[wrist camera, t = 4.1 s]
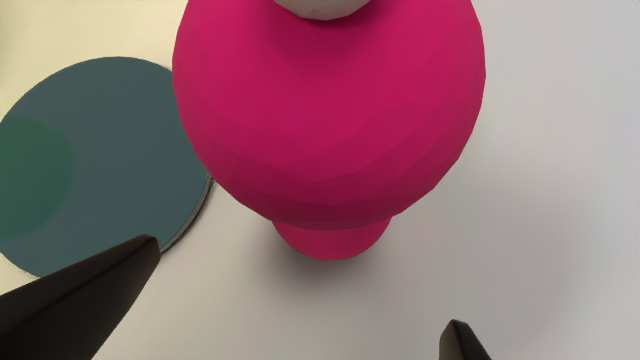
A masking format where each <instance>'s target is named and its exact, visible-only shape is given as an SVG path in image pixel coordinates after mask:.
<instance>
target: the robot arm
mask: <svg viewBox="0 0 640 360" xmlns="http://www.w3.org/2000/svg"><path fill="white" fill-rule="evenodd" d="M160 257H161V254H160V248H159V242H158V239H157V238H156V237H155V236H151V235H148V234H142V235H139V236H137V237H135V238H132V239H130V240H128V241H125V242H123V243H121V244H118V245H116V246H114V247H111V248H109V249H107V250H104V251H102V252H100V253H98V254H95V255H93V256H91V257H88V258H86V259H84V260H81V261H79V262H77V263H74V264H72V265H70V266H67V267H65V268H63V269H61V270H58V271H56V272H54V273H51V274H49V275H47V276H44V277H42V278H40V279H37V280H35V281H33V282H30V283H28V284H26V285H23V286H21V287H19V288H17V289H14V290H12V291H10V292H7V293H5V294H3V295H0V360H91V359H92V358H93V357H94V355H95V354H96V353H97V351H98V350H99V349H100V348H101V346H102V345H103V344H104V342H105V341H106V340H107V338H108V337H109V336H110V334H111V333H112V332H113V330H114V329H115V328H116V327H117V325H118V324H119V323H120V321H121V320H122V319H123V317H124V316H125V315H126V313H127V312H128V311H129V309H130V308H131V306H132V305H133V303H134V302H135V300H136V299H137V297H138V296H139V294H140V292H141V291H142V289H143V288H144V286H145V284H146V283H147V281H148V279H149V278H150V276H151V275H152V273H153V271H154V270H155V268H156V267H157V265H158V263H159V261H160ZM439 360H492V359H491V358H490V356H489V355H488V353H487V352H486V350H485V349H484V347H483V346H482V344H481V343H480V341H479V340H478V338H477V337H476V335H475V334H474V332H473V331H472V329H471V328H470V326H469V325H468V324H467V323H465V322H462V321H458V320H454V319H453V320H451V321H450V322H449V323H448V325H447V327H446V328H445V330H444V331H443V333H442V335H441V337H440V343H439Z"/></svg>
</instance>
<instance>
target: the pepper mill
mask: <svg viewBox="0 0 640 360" xmlns="http://www.w3.org/2000/svg"><path fill="white" fill-rule="evenodd" d="M172 77H173V88H174V93H175V98H176V103H177V107H178V112H179V116H180V120H181V124H182V126H183V128H184V130H185V133H186V135H187V137H188V139H189V141H190V143H191V145H192V148H193V150H194V152H195V154H196V156H197V157H198V159H199V160H200V161H201V163H202V164H203V165H204V167H205V168H206V169H207V171H208V172H209V173H210V175H211V176H212V177H213V179H214V180H215V181H216V182H217V183H218V184H219V185H220V186H221V187H223V188H224V189H225V190H226V191H227V192H228V193H229V194H230V195H232V196H233V197H234V198H235V199H236V200H237V201H238V202H240V203H241V204H243V205H245V206H246V207H248V208H250V209H251V210H253V211H255V212H256V213H258V214H260V215H261V216H263V217H265V218H266V219H268V220H271V221H272V223H273V224H274V226H275V228H276V230H277V231H278V233H279V234H280V236H281V237H282V238H283V239H284V240H285V241H286V242H287V243H288V244H289V245H290V246H291V247H292V248H294V249H295V250H296V251H298V252H300V253H302V254H304V255H306V256H309V257H312V258H315V259H320V260H342V259H347V258H350V257H353V256H356V255H358V254H360V253H362V252H363V251H365V250H366V249H368V248H369V247H370V246H372V245H373V244H374V243H375V242H376V241H377V240H378V239H379V238H380V236H381V235H382V233H383V232H384V231H385V229H386V228H387V226H388V224H389V222H390V220H391V218H392V216H395V215H397V214H399V213H401V212H403V211H404V210H406V209H407V208H408V207H410V206H411V205H412V204H414V203H415V202H416V201H418V200H419V199H420V198H422V197H423V196H424V195H426V194H427V193H428V192H430V191H431V190H432V189H433V188H434V187H435V186H436V185H437V184H438V183H439V181H440V180H441V179H442V178H443V177H444V175H445V174H446V173H447V172H448V171H449V169H450V168H451V167H452V166H453V165H454V163H455V162H456V161H457V160H458V158H459V156H460V154H461V153H462V151H463V149H464V147H465V145H466V143H467V141H468V139H469V137H470V135H471V133H472V131H473V128H474V125H475V122H476V119H477V117H478V114H479V111H480V108H481V104H482V98H483V91H484V85H485V79H486V70H485V54H484V44H483V37H482V30H481V26H480V23H479V21H478V18H477V16H476V13H475V10H474V8H473V5H472V3H471V0H189V1H188V3H187V6H186V8H185V11H184V14H183V17H182V20H181V23H180V26H179V29H178V32H177V36H176V41H175V47H174V52H173V58H172Z"/></svg>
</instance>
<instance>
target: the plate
mask: <svg viewBox="0 0 640 360" xmlns="http://www.w3.org/2000/svg"><path fill="white" fill-rule="evenodd" d="M211 180H212V176H211V175H210V173H209V172H208V171H207V169H206V168H205V167H204V165H203V164H202V163H201V161H200V160H199V159H198V157H197V156H196V154H195V152H194V150H193V148H192V145H191V143H190V141H189V139H188V137H187V135H186V133H185V130H184V128H183V126H182V124H181V120H180V116H179V112H178V107H177V103H176V98H175V93H174V88H173V77H172V72H171V71H170V70H168V69H166V68H164V67H162V66H160V65H158V64H155V63H152V62H149V61H146V60H142V59H137V58H132V57H103V58H97V59H91V60H87V61H84V62H80V63H77V64H74V65H71V66H69V67H66V68H64V69H62V70H60V71H58V72H56V73H54V74H52V75H50V76H49V77H47V78H46V79H44V80H42V81H41V82H39V83H38V84H37V85H35V86H34V87H33V88H32V89H30V90H29V91H28V92H27V93H25V94H24V95H23V96H22V97H21V98H20V99H19V100H18V101H17V102H16V103H15V104H14V105H13V107H12V108H11V109H10V110H9V111H8V113H7V114H6V115H5V116H4V118H3V119H2V121H1V122H0V252H1V253H2V254H3V255H4V256H5V257H6V258H7V259H8V260H9V261H10V262H12V263H13V264H15V265H16V266H18V267H19V268H20V269H22V270H24V271H26V272H28V273H30V274H32V275H35V276H37V277H40V278H42V277H44V276H47V275H49V274H51V273H54V272H56V271H58V270H61V269H63V268H65V267H67V266H70V265H72V264H74V263H77V262H79V261H81V260H84V259H86V258H88V257H91V256H93V255H95V254H98V253H100V252H102V251H104V250H107V249H109V248H111V247H114V246H116V245H118V244H121V243H123V242H125V241H128V240H130V239H132V238H135V237H137V236H139V235H142V234H148V235H151V236H155V237H156V238H157V239H158V242H159V248H160V253H162V252H163V251H164V250H166V249H167V248H168V247H169V246H170V245H171V244H172V243H173V242H174V241H175V240H176V239H177V238H178V237H179V236H180V235H181V234H182V233H183V232H184V230H185V229H186V228H187V227H188V226H189V224H190V223H191V222H192V220H193V219H194V217H195V215H196V214H197V212H198V211H199V209H200V207H201V205H202V203H203V201H204V199H205V197H206V195H207V192H208V189H209V186H210V183H211Z"/></svg>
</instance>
